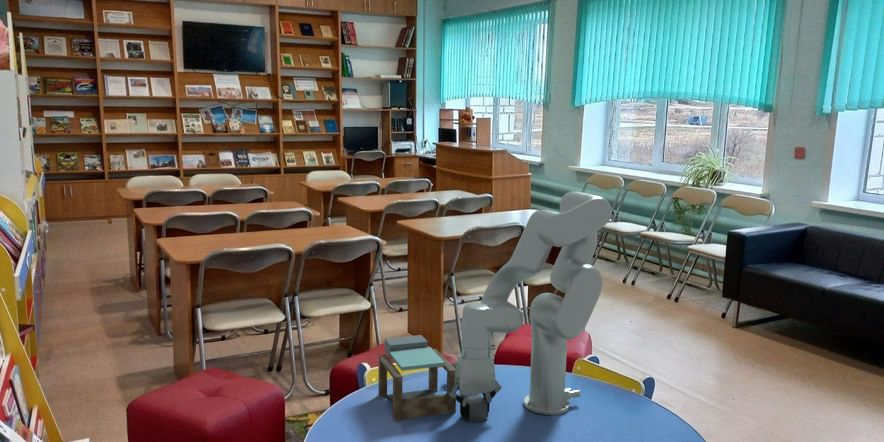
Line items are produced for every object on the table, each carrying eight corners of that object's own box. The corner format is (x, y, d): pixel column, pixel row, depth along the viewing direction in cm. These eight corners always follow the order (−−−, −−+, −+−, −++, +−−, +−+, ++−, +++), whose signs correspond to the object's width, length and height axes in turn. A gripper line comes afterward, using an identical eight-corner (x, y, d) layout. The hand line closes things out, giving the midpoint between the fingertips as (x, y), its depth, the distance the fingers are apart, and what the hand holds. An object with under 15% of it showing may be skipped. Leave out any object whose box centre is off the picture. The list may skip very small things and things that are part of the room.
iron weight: (479, 412, 185) (480, 394, 184) (487, 420, 180) (487, 402, 179) (462, 414, 183) (462, 397, 182) (469, 423, 178) (469, 404, 177)
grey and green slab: (423, 347, 202) (423, 334, 201) (445, 371, 184) (445, 356, 184) (382, 352, 198) (382, 338, 197) (400, 376, 180) (401, 361, 179)
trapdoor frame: (435, 388, 200) (435, 348, 198) (455, 412, 184) (456, 370, 182) (378, 395, 194) (378, 354, 193) (394, 421, 179) (395, 377, 177)
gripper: (500, 342, 185) (498, 406, 188) (440, 349, 179) (439, 415, 182) (512, 352, 178) (509, 418, 181) (450, 359, 172) (449, 427, 175)
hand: (474, 415), depth 181 cm, fingers closed on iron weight, 5 cm apart
